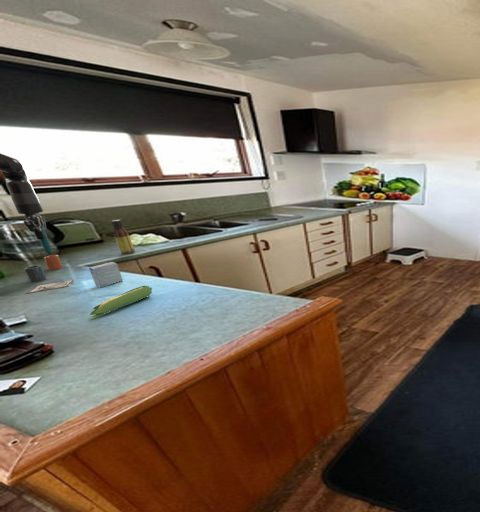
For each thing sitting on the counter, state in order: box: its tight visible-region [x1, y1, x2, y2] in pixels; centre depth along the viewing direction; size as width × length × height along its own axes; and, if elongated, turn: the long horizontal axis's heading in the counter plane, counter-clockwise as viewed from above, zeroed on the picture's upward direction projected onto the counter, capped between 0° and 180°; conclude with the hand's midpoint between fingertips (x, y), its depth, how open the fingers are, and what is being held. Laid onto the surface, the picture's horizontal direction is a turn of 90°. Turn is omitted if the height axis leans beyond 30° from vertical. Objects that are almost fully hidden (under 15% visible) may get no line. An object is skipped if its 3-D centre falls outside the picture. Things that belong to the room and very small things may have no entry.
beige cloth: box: [25, 279, 76, 295], centre depth 116 cm, size 12×9×1 cm
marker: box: [39, 228, 54, 255], centre depth 132 cm, size 2×2×13 cm
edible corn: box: [89, 285, 153, 320], centre depth 99 cm, size 5×20×4 cm, turn 162°
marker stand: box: [23, 264, 47, 284], centre depth 122 cm, size 5×5×7 cm
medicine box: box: [88, 261, 124, 288], centre depth 118 cm, size 8×4×9 cm, turn 154°
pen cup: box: [43, 254, 64, 271], centre depth 136 cm, size 5×5×7 cm
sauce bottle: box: [111, 219, 136, 255], centre depth 158 cm, size 7×6×20 cm
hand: (42, 238), depth 132 cm, fingers closed on marker, 2 cm apart
